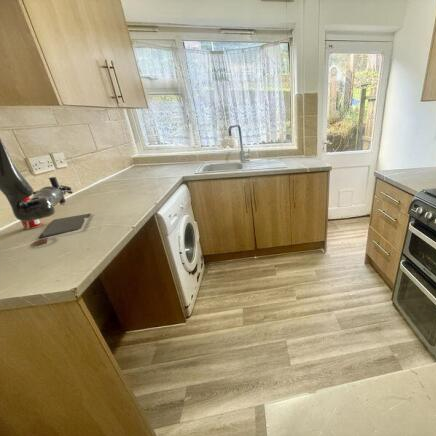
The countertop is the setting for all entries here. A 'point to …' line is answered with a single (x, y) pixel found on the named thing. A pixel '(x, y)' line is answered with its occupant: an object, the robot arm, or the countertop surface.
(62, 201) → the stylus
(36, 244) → the dock
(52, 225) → the tablet
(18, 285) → the countertop surface
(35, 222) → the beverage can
